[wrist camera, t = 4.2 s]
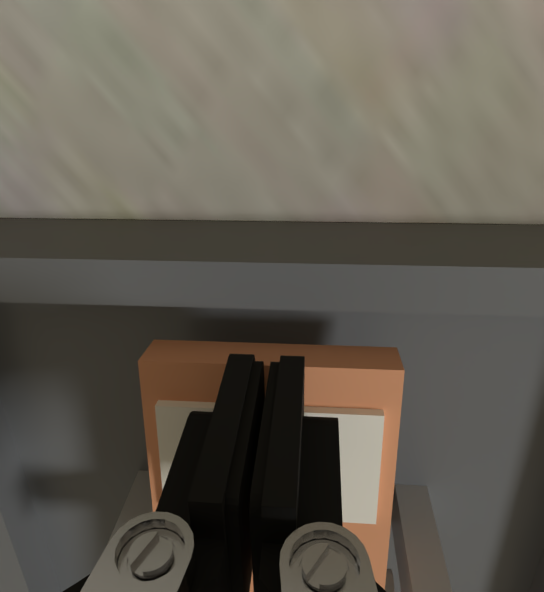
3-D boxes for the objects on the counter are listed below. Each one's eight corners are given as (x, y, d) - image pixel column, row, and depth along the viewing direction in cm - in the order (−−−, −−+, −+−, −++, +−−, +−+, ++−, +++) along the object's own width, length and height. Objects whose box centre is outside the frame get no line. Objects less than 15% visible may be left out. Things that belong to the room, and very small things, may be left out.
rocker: (373, 733, 17) (378, 788, 15) (178, 715, 17) (166, 766, 16) (409, 347, 12) (421, 376, 11) (142, 338, 13) (120, 365, 11)
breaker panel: (520, 635, 21) (583, 819, 16) (64, 600, 23) (-9, 757, 18) (658, 226, 13) (864, 338, 8) (-56, 217, 15) (-247, 306, 10)
